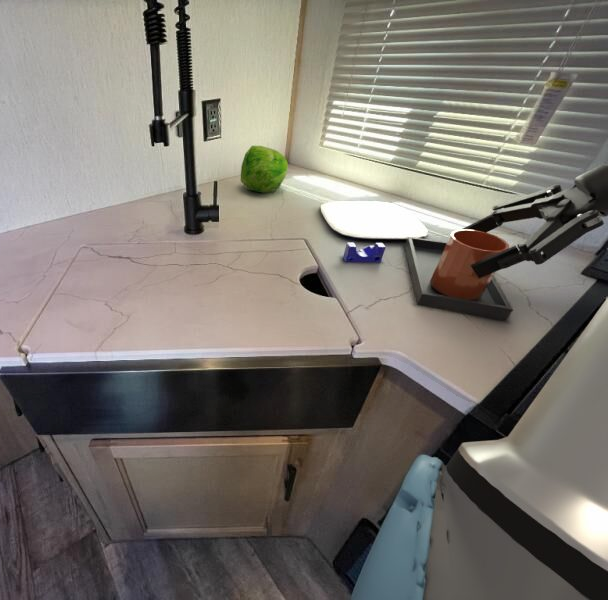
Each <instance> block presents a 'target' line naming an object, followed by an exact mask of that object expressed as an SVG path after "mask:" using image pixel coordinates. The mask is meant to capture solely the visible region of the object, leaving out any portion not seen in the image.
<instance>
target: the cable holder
mask: <svg viewBox="0 0 608 600" xmlns="http://www.w3.org/2000/svg"><path fill="white" fill-rule="evenodd" d="M385 250H386V246H385V244H384V243H383V242H375V244H374V245H368V246H367V247H364V248H359V250H358V251H357V246H356V244H355V242H346V245H345V250H344V253H343V256H342V259H343V260H344V262H345V263H378V264H379V263H382V259H383V257H384V254H385Z"/></svg>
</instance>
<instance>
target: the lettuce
mask: <svg viewBox="0 0 608 600" xmlns="http://www.w3.org/2000/svg"><path fill="white" fill-rule="evenodd" d="M240 167H241V168H240V182H241V184H243V185H244V186H245V187H246V189H248V190H250V191H254V192H257V193H263V194H266V193H270V192H272V191H274V190H276V189H279V188H280V187H281V185H282V183H283V181H284V180H285V179H286V175H287V173H288V169H289V164H288V161H287V159H286V157H285V155H283V154H282V153H281V152H279V151H278V150H275V149H273V148H271V147H267V146H264V145H251V146H250V147H249V149H248V150H247V151H246V152H245V153H244V157H243V159H242V163H241V166H240Z"/></svg>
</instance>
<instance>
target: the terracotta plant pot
mask: <svg viewBox="0 0 608 600" xmlns="http://www.w3.org/2000/svg"><path fill="white" fill-rule="evenodd" d="M461 229H462V230H461ZM461 229H456V230H453V231H451V233H450V234H449V237H448V239H447V241H446V242H447V243H446V246H445V248H444V250H443V252H442V255H441V257H440V259H439V261H438V263H437V266H436V268H435V270H434V272H433V274H432V277H431V279H430V283H431V285H432V286H433V287H434V289H435V290H436V291H438V292H439V293H440V294H442V295H444V296H449V297H455V298H461V299H467V300H474V299H478V298H479V297H481V296H482V294H483V293H484V291H485V289H486V287H487V286H488V284H489V282H490V281H491V279H492V277H493V276H494V275H495V274H496V272H494V273H491V274H489V275H486V276H484V277H481V278H478V276H477V275H476V273H475V272H474V270H473V269H472V267H471V265H472V264H474V263H476V262H478V261H481V260H483V259H485V258H488V257H490V256H492V255H495V254H497V253H499V252H501V251H504V250H506V249H508V248H510V244H509V243H508V242H507V241H506V240H505V239H504V238H501V237H499V236H498V235H495V234H491V233H489V232H487V233H486V232H482V231H477V230H468V229H463V228H461Z"/></svg>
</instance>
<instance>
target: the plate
mask: <svg viewBox="0 0 608 600" xmlns="http://www.w3.org/2000/svg"><path fill="white" fill-rule="evenodd" d="M319 209H320V212H321V215H322V216H323V219H324V220H325V222H326V223H327V225H329V227H330V228H331V229H332V231H335V232H336V233H337V234H340V235H342V236H345V237H350V238H354V239H363V240H365V239H366V240H390V241H391V240H392V241H393V240H398V241H399V240H401V241H403V240H407V238H408V237H414V238H421V239H423V238H424V237H427V236H428V232H429V231H428V229H427V228H426V226H425V225H424V224H423V223H422V222H421V221H420V220H419V219H418V218H417V217H416V216H414V215H413V214H412V213H411V212H410V211H408V210H407V209H406V208H404V207H402V206H399V205H397V204H394V203H389V202H384V201H372V200H370V201H369V200H338V201H337V200H336V201H335V200H334V201H329V202H324V203H322V204H321V206H320V208H319Z"/></svg>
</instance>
